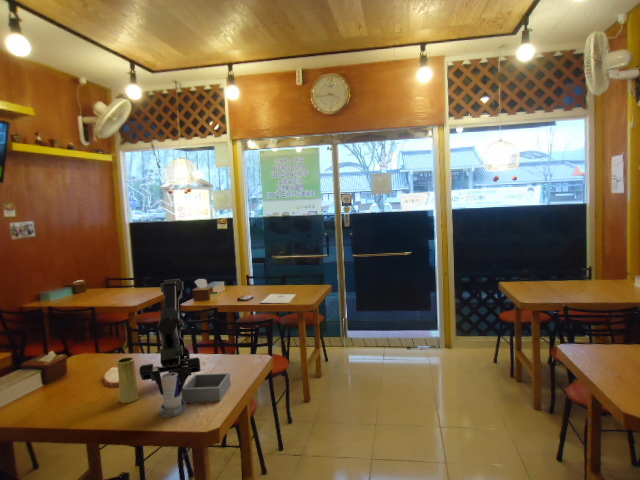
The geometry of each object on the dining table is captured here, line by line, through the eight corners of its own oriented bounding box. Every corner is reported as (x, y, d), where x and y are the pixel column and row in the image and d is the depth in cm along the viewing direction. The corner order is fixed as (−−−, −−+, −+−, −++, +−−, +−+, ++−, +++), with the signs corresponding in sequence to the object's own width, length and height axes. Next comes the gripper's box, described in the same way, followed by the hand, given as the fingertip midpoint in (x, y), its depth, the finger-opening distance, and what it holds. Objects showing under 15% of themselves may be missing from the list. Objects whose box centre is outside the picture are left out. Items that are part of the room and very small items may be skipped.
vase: (120, 405, 145) (116, 364, 144) (119, 398, 151) (115, 359, 150) (139, 400, 148) (135, 360, 147) (137, 394, 154) (134, 355, 153)
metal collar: (156, 417, 135) (155, 410, 135) (166, 406, 142) (166, 399, 142) (180, 416, 134) (179, 410, 134) (189, 405, 142) (188, 399, 142)
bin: (182, 402, 145) (181, 389, 144) (196, 386, 158) (195, 374, 157) (220, 401, 144) (219, 388, 143) (230, 385, 157) (229, 373, 156)
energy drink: (185, 408, 140) (182, 372, 139) (174, 416, 135) (171, 379, 134) (171, 406, 142) (168, 371, 141) (160, 414, 137) (157, 377, 136)
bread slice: (121, 389, 160) (120, 379, 160) (87, 384, 167) (86, 375, 167) (156, 371, 177) (155, 362, 176) (123, 367, 184) (123, 359, 183)
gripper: (137, 341, 138) (135, 387, 128) (197, 333, 143) (199, 377, 133) (142, 357, 146) (141, 402, 136) (199, 349, 151) (201, 392, 141)
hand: (171, 393), depth 136 cm, fingers closed on energy drink, 5 cm apart
